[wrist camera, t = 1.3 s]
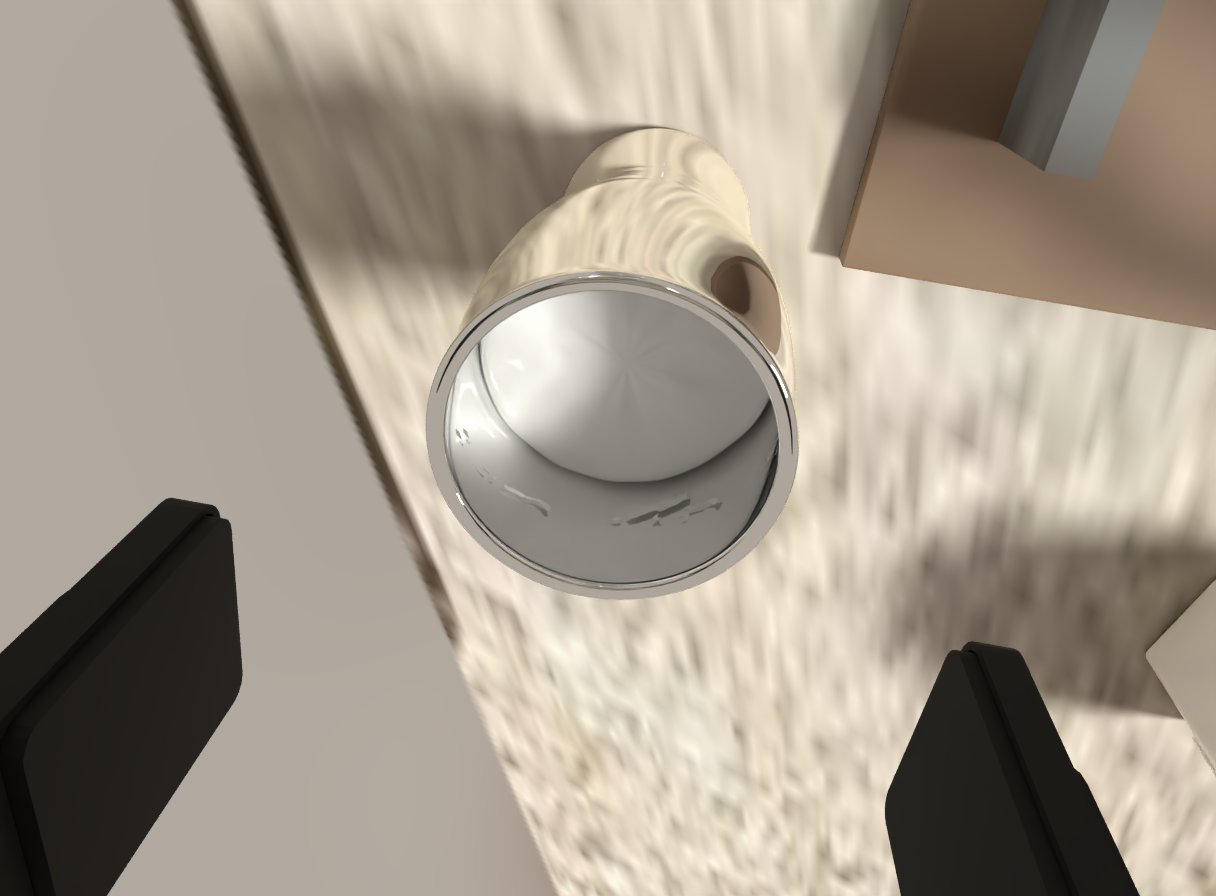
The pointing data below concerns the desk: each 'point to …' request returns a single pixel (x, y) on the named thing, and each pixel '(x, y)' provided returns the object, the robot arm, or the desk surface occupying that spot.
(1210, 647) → the jar
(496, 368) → the beer glass
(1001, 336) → the desk surface
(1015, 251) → the u rest
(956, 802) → the robot arm
